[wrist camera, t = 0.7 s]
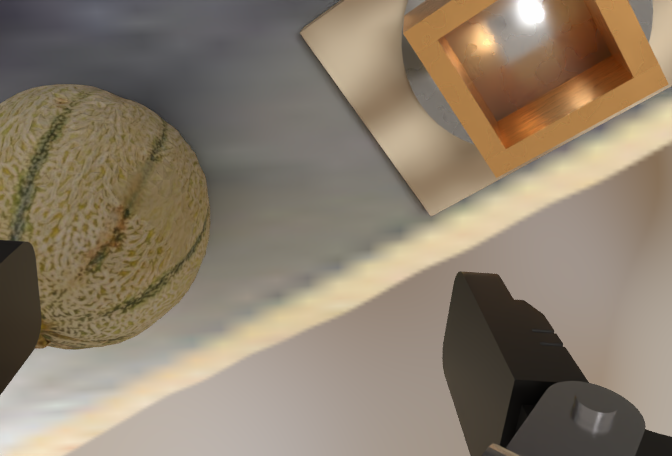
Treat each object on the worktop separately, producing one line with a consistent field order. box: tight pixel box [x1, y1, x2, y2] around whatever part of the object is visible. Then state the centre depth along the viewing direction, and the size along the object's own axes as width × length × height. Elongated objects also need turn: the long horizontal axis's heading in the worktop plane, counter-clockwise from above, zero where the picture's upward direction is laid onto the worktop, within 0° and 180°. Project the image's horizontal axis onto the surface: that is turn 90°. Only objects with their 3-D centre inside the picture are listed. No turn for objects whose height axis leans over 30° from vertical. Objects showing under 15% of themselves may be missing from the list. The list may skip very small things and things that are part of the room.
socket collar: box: [402, 0, 669, 178], centre depth 32 cm, size 13×13×5 cm
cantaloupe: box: [0, 84, 210, 349], centre depth 36 cm, size 15×15×15 cm
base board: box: [300, 0, 672, 216], centre depth 35 cm, size 14×20×1 cm
